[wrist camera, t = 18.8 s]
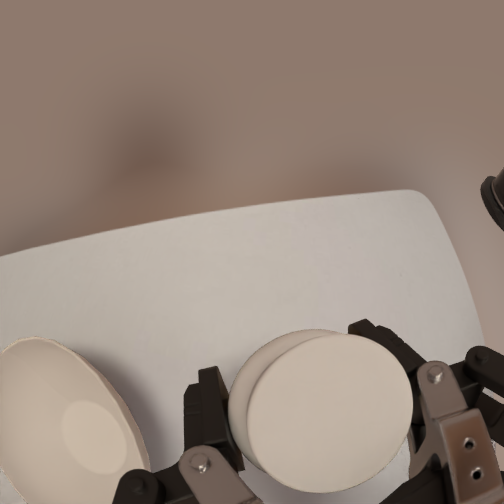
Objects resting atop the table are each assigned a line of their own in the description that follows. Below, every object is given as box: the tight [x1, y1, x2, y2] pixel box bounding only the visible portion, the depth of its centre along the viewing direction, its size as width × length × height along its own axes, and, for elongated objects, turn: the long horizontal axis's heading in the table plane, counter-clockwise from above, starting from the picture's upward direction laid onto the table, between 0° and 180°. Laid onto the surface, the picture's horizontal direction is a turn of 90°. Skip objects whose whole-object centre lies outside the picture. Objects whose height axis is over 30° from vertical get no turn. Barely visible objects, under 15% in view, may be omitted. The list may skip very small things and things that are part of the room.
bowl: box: [0, 336, 150, 504], centre depth 13 cm, size 16×16×7 cm
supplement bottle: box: [228, 329, 413, 493], centre depth 9 cm, size 5×5×10 cm
